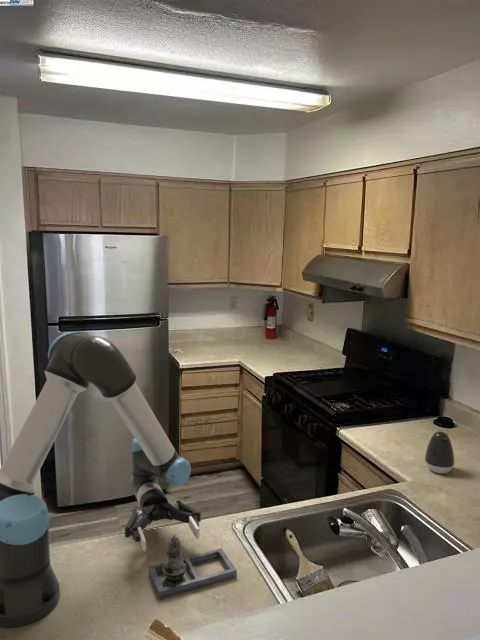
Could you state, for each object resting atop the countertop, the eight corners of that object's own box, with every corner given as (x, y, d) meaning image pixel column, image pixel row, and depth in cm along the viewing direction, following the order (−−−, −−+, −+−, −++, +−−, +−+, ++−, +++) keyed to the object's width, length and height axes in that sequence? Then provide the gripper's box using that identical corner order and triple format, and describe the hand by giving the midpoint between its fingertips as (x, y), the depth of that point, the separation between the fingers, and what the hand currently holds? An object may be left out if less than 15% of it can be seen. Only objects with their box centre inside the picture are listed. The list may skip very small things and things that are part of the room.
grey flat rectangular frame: (159, 600, 111) (159, 591, 111) (148, 574, 120) (148, 567, 120) (236, 577, 119) (236, 570, 119) (221, 555, 128) (221, 548, 128)
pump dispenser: (431, 477, 175) (433, 436, 173) (420, 465, 186) (421, 427, 184) (459, 476, 176) (461, 436, 174) (446, 464, 186) (448, 426, 184)
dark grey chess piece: (187, 573, 121) (187, 527, 119) (186, 588, 115) (185, 541, 113) (164, 573, 120) (163, 528, 119) (161, 589, 115) (160, 541, 113)
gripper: (193, 504, 145) (218, 542, 125) (108, 522, 135) (121, 565, 116) (193, 481, 144) (218, 515, 124) (107, 496, 134) (120, 536, 115)
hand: (171, 539), depth 120 cm, fingers open, 13 cm apart
